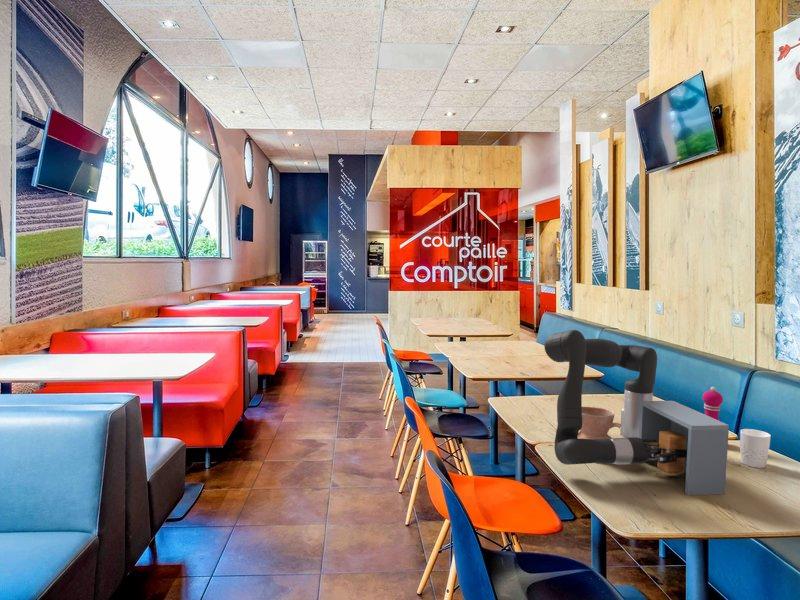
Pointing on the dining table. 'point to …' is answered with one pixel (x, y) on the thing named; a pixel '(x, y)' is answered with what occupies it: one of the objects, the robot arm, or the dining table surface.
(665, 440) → the orange block
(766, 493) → the dining table surface
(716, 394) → the pepper mill
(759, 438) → the white cup
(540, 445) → the dining table surface
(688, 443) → the grey cubby
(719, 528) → the dining table surface
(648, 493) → the dining table surface
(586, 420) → the ceramic jug
